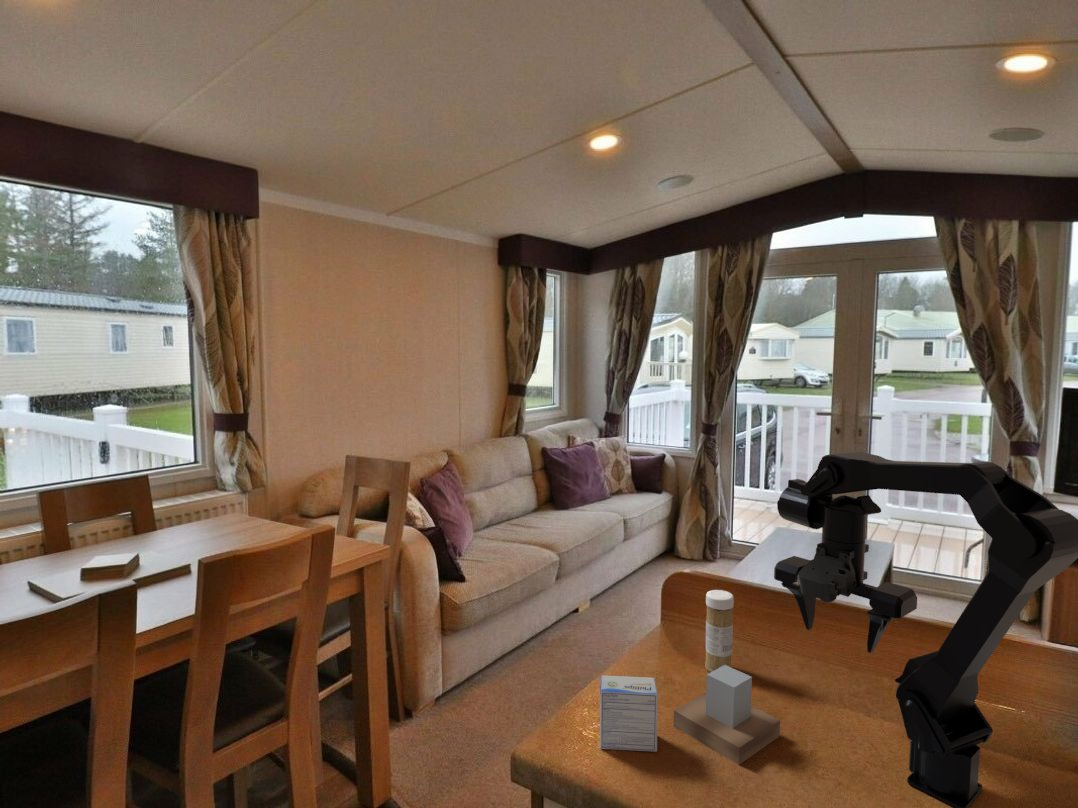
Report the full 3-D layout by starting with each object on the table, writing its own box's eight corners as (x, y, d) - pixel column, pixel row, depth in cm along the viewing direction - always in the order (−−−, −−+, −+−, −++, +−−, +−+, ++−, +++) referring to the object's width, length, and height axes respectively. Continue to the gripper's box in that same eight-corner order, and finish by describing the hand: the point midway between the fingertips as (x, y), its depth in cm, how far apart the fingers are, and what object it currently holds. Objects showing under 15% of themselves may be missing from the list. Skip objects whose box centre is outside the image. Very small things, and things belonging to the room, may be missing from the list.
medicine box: (654, 734, 90) (655, 676, 90) (657, 754, 86) (658, 693, 85) (599, 731, 91) (600, 673, 90) (599, 750, 87) (600, 690, 86)
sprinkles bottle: (723, 661, 111) (725, 587, 110) (736, 674, 107) (739, 597, 106) (699, 664, 110) (701, 590, 109) (712, 677, 106) (714, 600, 105)
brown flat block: (779, 740, 90) (780, 720, 90) (738, 769, 84) (739, 747, 83) (714, 705, 98) (715, 687, 98) (673, 729, 92) (673, 710, 92)
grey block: (750, 716, 90) (752, 676, 90) (732, 728, 88) (734, 687, 87) (723, 703, 94) (724, 664, 93) (705, 714, 91) (706, 674, 90)
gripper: (755, 532, 94) (751, 632, 96) (885, 567, 80) (879, 684, 81) (795, 520, 101) (791, 613, 103) (921, 549, 86) (915, 658, 88)
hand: (838, 640), depth 93 cm, fingers open, 9 cm apart
